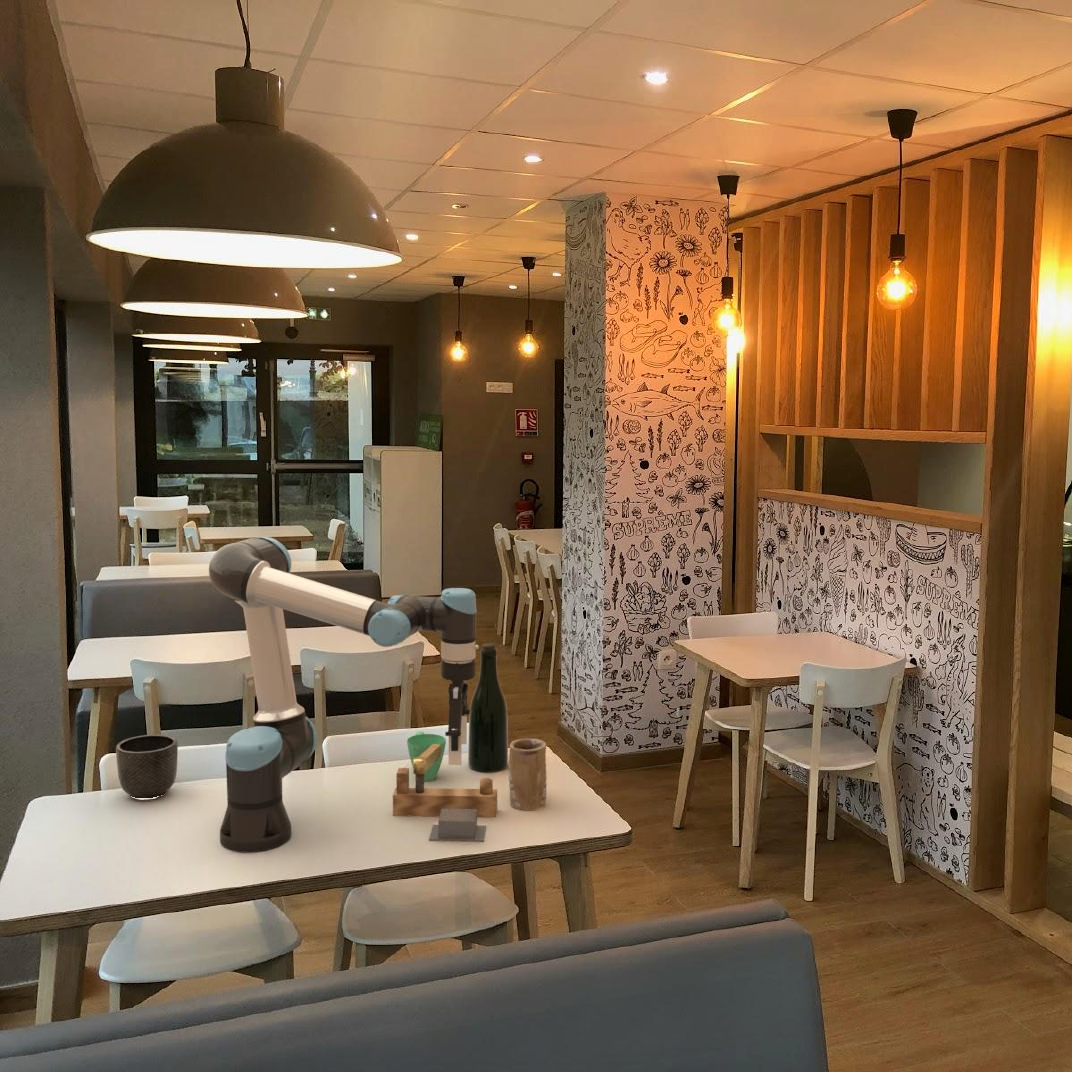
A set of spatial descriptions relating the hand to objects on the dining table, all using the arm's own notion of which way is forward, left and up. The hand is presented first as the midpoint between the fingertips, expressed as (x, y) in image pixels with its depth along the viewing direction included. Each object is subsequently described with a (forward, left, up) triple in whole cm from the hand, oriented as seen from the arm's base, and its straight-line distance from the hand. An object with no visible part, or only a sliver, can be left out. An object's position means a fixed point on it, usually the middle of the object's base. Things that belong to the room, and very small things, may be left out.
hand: (457, 753), depth 228 cm
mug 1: (-12, +37, -19) cm, 43 cm away
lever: (-9, +17, -9) cm, 21 cm away
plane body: (-4, +12, -18) cm, 22 cm away
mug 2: (+14, +20, -19) cm, 31 cm away
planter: (-77, +20, -19) cm, 82 cm away
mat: (0, 0, -18) cm, 18 cm away
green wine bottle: (+4, +44, -19) cm, 48 cm away
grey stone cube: (0, 0, -18) cm, 18 cm away
